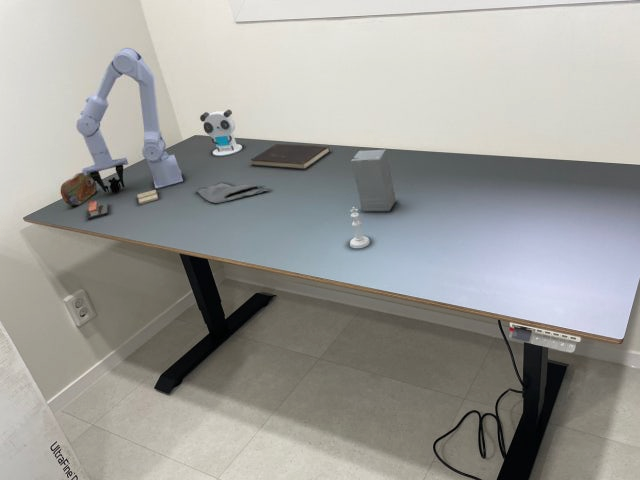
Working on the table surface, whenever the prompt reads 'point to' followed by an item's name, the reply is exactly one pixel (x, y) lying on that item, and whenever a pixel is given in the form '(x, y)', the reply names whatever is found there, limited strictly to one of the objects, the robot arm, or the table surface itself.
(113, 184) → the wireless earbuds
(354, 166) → the cosmetic box
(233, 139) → the panda figurine
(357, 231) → the chess piece
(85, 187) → the tin
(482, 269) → the table surface
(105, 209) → the sushi plate
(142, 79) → the robot arm
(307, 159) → the hardcover book
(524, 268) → the table surface
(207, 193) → the cloth
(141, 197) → the napkin
